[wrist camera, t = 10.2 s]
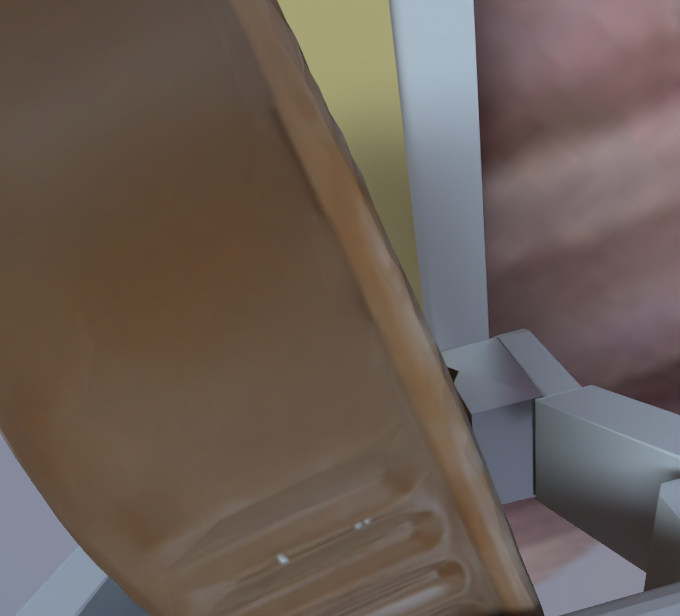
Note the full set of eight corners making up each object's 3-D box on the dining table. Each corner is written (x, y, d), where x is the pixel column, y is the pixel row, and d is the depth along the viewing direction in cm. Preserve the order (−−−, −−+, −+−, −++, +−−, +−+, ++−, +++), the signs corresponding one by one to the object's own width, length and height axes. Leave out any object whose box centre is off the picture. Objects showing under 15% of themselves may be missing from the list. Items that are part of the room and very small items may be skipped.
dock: (413, -339, 12) (502, -503, 8) (470, 435, 23) (519, 525, 19) (-70, -259, 11) (-229, -393, 7) (226, 496, 22) (225, 602, 18)
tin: (460, 497, 16) (694, 887, 9) (362, 549, 16) (517, 985, 9) (190, -105, 9) (279, -800, 1) (2, -14, 8) (-1026, -217, 1)
